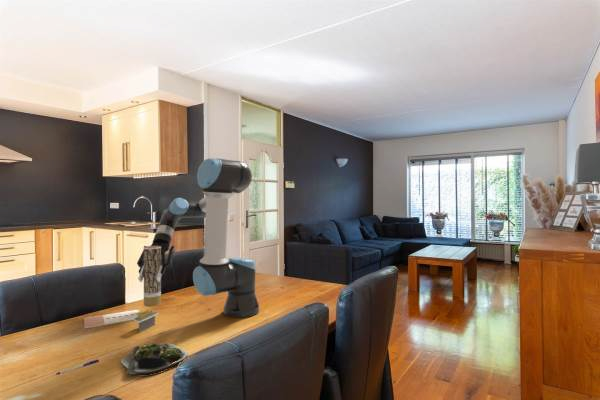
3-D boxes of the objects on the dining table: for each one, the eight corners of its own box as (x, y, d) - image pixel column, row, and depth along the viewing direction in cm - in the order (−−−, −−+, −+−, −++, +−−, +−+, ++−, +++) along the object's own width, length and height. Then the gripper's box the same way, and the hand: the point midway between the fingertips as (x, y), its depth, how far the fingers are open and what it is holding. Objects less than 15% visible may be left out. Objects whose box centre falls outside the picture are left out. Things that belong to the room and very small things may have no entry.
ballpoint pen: (98, 361, 101) (98, 358, 101) (99, 362, 101) (99, 359, 101) (56, 375, 93) (56, 371, 93) (57, 376, 93) (57, 372, 93)
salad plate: (107, 360, 102) (107, 345, 102) (165, 342, 115) (165, 329, 115) (132, 384, 89) (132, 367, 89) (194, 361, 102) (194, 346, 102)
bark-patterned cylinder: (154, 307, 142) (154, 248, 142) (140, 306, 143) (140, 247, 143) (164, 302, 148) (164, 246, 148) (150, 301, 150) (150, 245, 150)
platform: (113, 336, 120) (113, 318, 120) (149, 319, 137) (149, 303, 137) (140, 341, 117) (140, 321, 117) (174, 323, 134) (174, 306, 134)
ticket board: (142, 318, 138) (142, 317, 138) (84, 328, 127) (84, 327, 127) (138, 310, 148) (138, 309, 148) (84, 319, 137) (84, 317, 137)
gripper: (186, 242, 161) (174, 284, 145) (144, 242, 161) (128, 285, 144) (182, 232, 156) (170, 275, 140) (139, 232, 155) (122, 275, 139)
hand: (149, 280), depth 142 cm, fingers closed on bark-patterned cylinder, 7 cm apart
